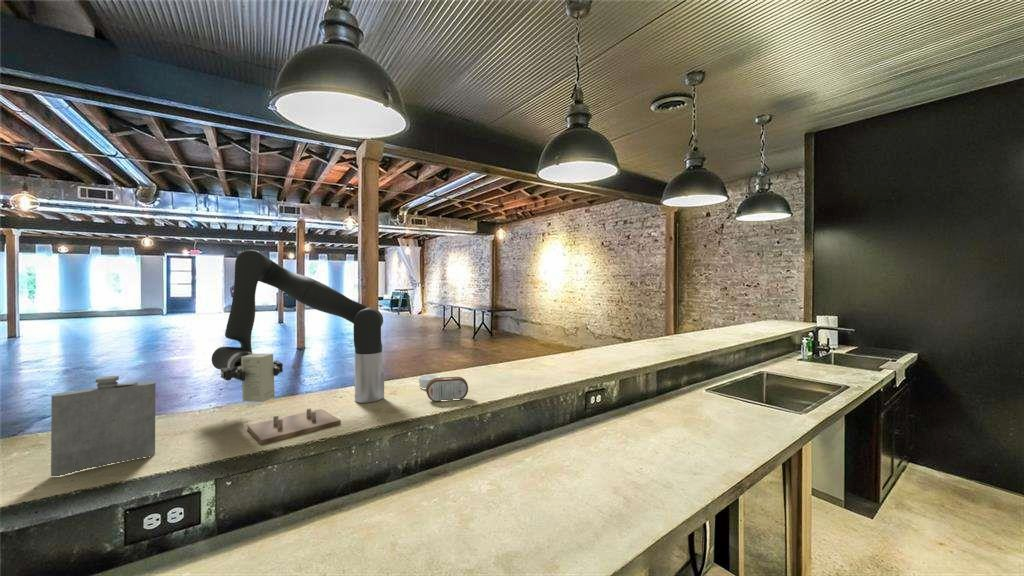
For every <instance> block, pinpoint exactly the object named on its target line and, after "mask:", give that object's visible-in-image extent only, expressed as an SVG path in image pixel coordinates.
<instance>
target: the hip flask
mask: <svg viewBox="0 0 1024 576" xmlns="http://www.w3.org/2000/svg"><path fill="white" fill-rule="evenodd" d="M119 378H120V376H119V375H108V376H102V377H101V376H100V377H97V378H95V383H96V387H95V388H93V387H92V388H87V389H85V388H84V389H79V390H72V391H65V392H59V393H53V394H52V395H51V401H50V403H51V404H50V406H51V408H50V409H51V410H50V411H51V412H50V413H51V416H50V417H51V418H50V419H51V420H50V423H51V426H50V428H51V430H50V436H51V437H50V445H51V446H50V477H51V476H60V475H65V474H68V473H72V472H75V471H80V470H83V469H87V468H92V467H99V466H103V465H107V464H111V463H117V462H122V461H127V460H132V459H137V458H143V457H149V456H152V455H154V454H155V455H156V381H147V382H139V381H137V382H124V383H122V382H121V383H119V382H118V380H119ZM155 455H154V456H155ZM152 457H153V456H152ZM149 458H150V457H149Z"/></svg>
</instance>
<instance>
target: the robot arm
mask: <svg viewBox="0 0 1024 576" xmlns="http://www.w3.org/2000/svg"><path fill="white" fill-rule="evenodd" d="M259 282H261V283H263V284H266V285H268V286H271V287H273V288H276V289H278V290H280V291H282V292H283V293H284V294H286V295H288V296H289V297H290V298H292V299H294V300H295V301H297V302H299V303H301V304H303V305H305V306H307V307H310V308H311V309H314V310H316V311H319V312H322V313H325V314H329V315H333V316H337V317H340V318H342V319H345V320H346V321H348V322H350V323H352V324H353V346H354V402H356V403H360V404H362V403H363V404H368V403H374V402H378V401H380V400H381V399H385V372H384V371H383V344H382V327H383V324H384V317H383V314H382V313H381V312H380V311H379V310H378V309H377V308H374V307H370V306H367V305H365V304H363V303H360V302H357V301H355V300H353V299H350V298H349V297H348V296H346V295H344V294H342V293H340V292H339V291H337V290H336V289H334V288H332V287H330V286H328V285H326V284H324V283H322V282H320V281H319V280H316V279H314V278H312V277H309V276H306V275H304V274H300V273H296V272H293V271H290V270H289V269H286V268H285V267H284V266H281V265H280V264H278V263H276V262H275V261H273V260H272V259H270V258H269V257H268V256H267V255H265V254H263V253H262V252H260V251H258V250H255V249H246V250H244V251H241V252H240V253H239V254H238V255H237V256H236V259H235V264H234V284H233V294H232V301H231V306H230V312H229V315H228V318H227V319H228V320H227V323H226V328H225V332H224V336H225V338H226V339H230V340H232V341H237V342H239V344H240V347H239V346H237V347H236V346H220V347H218V348H217V349H215V350H214V352H212V355H211V364H212V366H213V367H214V368H215V369H217V370H220V378H221V379H223V380H225V381H231V380H232V379H233V378H234V380H236V381H238V380H240V381H241V382H242V381H245V372H244V371H242V366H241V357H242V356H247V355H251V354H254V352H253V351H252V332H253V328H254V325H255V319H256V293H257V292H256V291H257V286H258V283H259ZM273 364H274V377H277V376H279V374H281V373H283V372H284V370H283V369H284V368H283V366H284V363H283V362H281V361H280V360H273Z"/></svg>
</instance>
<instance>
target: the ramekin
mask: <svg viewBox="0 0 1024 576" xmlns="http://www.w3.org/2000/svg"><path fill="white" fill-rule="evenodd" d="M421 376H422V377H421ZM440 377H441V375H438V374H423V375H420V376H419V377H418V383H419V388H420V387H422V388H426V387H427V384H428V383H429V382H430V381H431V380H432V379H434V378H440Z"/></svg>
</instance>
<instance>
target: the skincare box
mask: <svg viewBox="0 0 1024 576" xmlns="http://www.w3.org/2000/svg"><path fill="white" fill-rule="evenodd" d="M273 362H274V353H253V354H251V355H247V356H242V357H241V366H242V371H244V372H245V381H241V391H242V394H241V395H242V402H243V403H244V402H246V403H247V402H249V403H250V402H252V403H253V402H254V403H256V402H257V403H259V402H260V403H261V402H262V403H264V402H266V401H268V400H271V399H274V398H275V396H276V395H275V376H274V364H273Z"/></svg>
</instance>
